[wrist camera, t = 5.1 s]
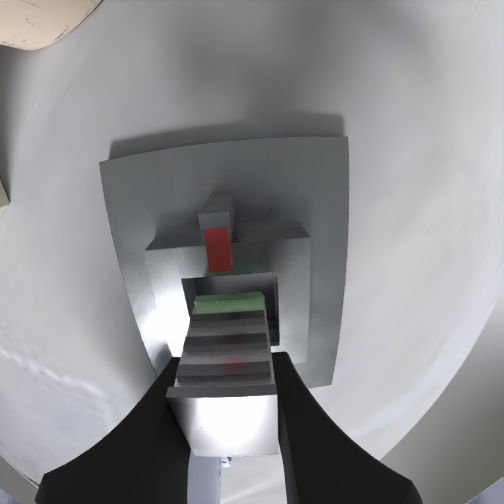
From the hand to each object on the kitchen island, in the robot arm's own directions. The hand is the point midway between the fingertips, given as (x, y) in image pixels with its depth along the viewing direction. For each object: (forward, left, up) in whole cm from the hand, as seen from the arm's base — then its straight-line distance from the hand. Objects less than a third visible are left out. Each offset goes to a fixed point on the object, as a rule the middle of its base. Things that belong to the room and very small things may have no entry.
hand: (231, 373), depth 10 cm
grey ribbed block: (0, 0, -3) cm, 3 cm away
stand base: (0, 0, -6) cm, 6 cm away
